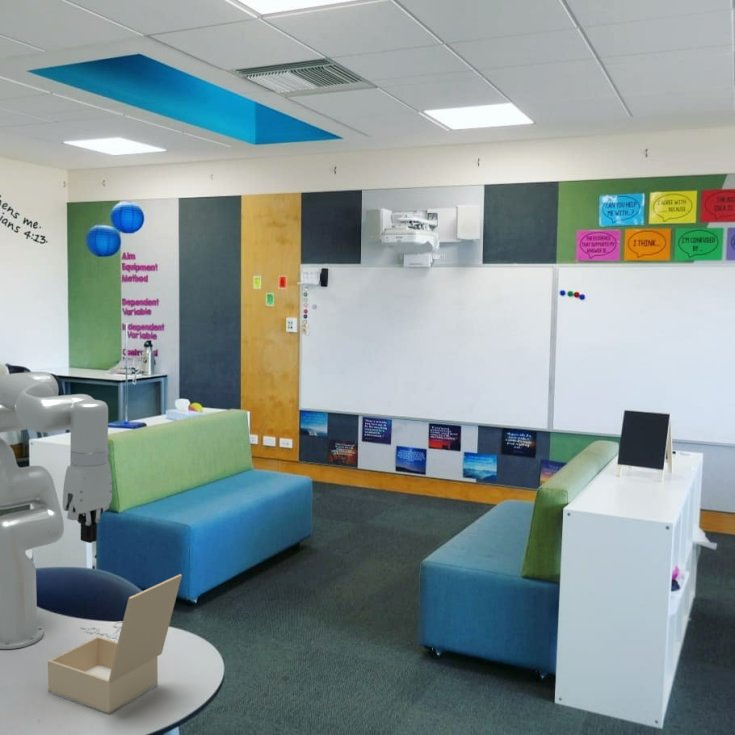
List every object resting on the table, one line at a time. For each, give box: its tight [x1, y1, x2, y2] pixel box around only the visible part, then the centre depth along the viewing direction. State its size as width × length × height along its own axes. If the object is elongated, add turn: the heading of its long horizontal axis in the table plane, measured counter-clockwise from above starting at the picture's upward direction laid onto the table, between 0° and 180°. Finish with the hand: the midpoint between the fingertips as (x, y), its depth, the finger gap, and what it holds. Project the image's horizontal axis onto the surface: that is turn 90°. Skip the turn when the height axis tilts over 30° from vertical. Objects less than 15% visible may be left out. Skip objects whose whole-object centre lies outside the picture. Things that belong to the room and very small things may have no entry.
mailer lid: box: [108, 573, 183, 683], centre depth 163 cm, size 20×15×1 cm
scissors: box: [80, 620, 123, 642], centre depth 195 cm, size 11×1×20 cm
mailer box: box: [47, 635, 159, 715], centre depth 170 cm, size 18×14×7 cm
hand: (88, 540), depth 169 cm, fingers closed
